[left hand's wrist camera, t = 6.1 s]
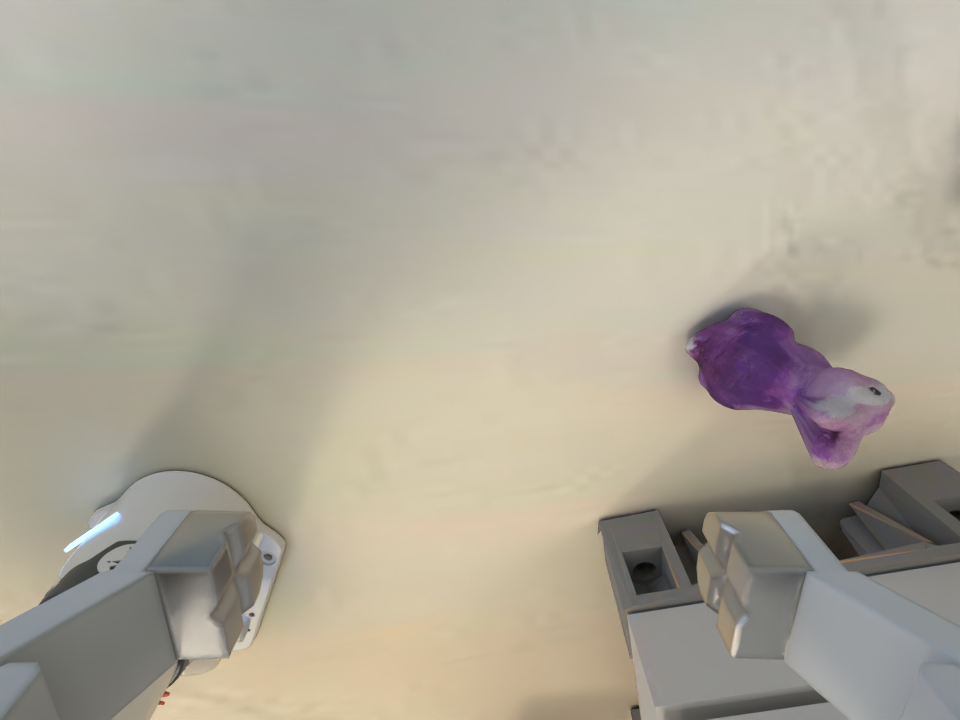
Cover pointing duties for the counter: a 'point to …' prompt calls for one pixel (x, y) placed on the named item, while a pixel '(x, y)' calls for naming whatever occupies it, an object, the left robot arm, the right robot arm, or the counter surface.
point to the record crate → (692, 625)
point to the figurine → (789, 383)
